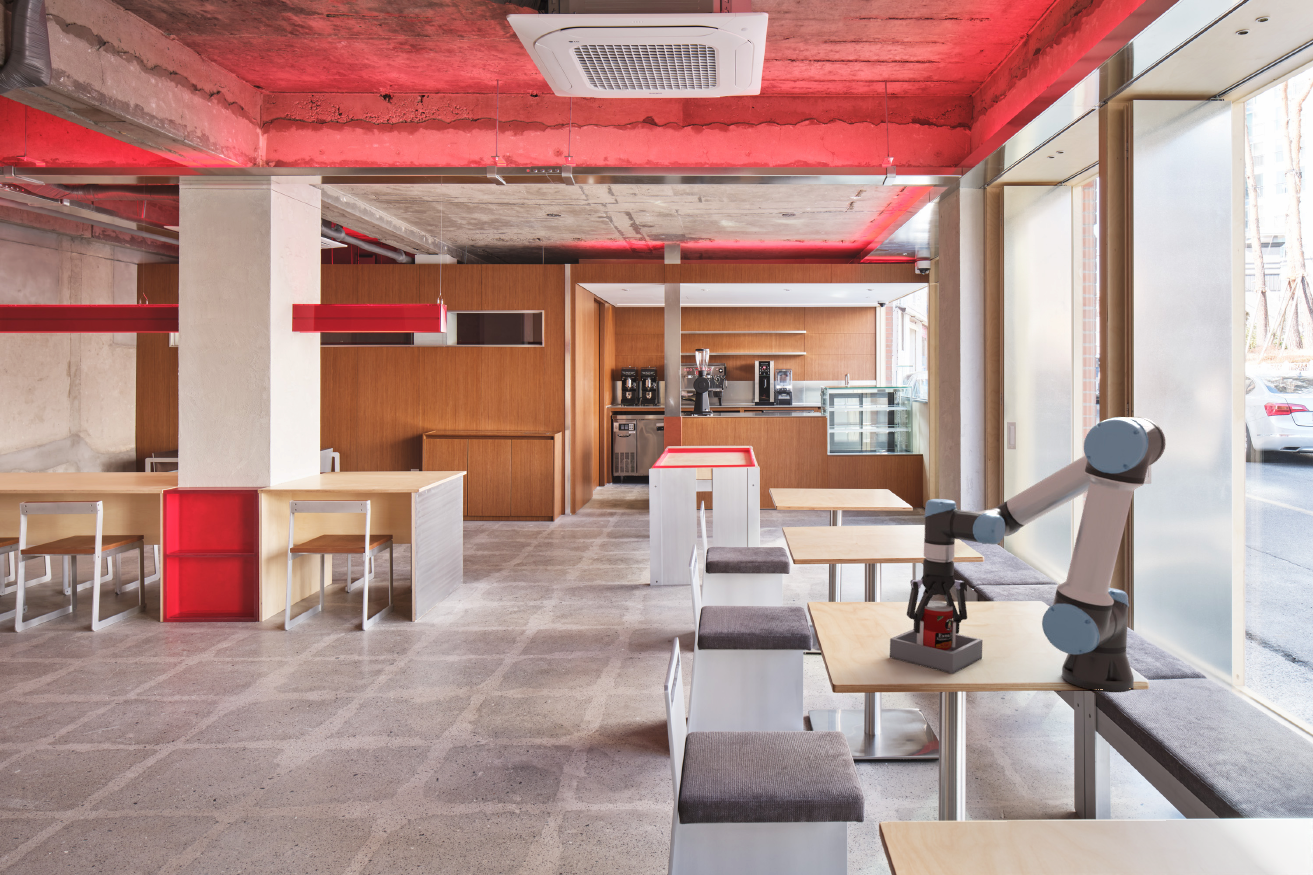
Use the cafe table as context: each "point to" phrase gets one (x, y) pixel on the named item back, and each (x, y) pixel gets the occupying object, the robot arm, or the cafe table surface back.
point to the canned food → (937, 625)
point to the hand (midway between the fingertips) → (935, 645)
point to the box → (936, 652)
